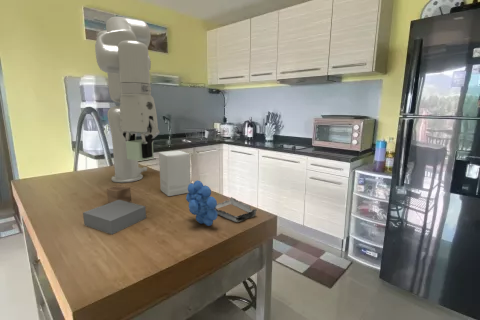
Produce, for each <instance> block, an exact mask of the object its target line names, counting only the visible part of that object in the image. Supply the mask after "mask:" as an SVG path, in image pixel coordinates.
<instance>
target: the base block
mask: <svg viewBox="0 0 480 320" xmlns="http://www.w3.org/2000/svg"><path fill="white" fill-rule="evenodd" d="M82 215H83V225H84V226H86V227H88V228H91V229H94V230H97V231H100V232H103V233H106V234H108V235H114V234H116V233H118V232H121V231H123V230H125V229H126V228H129V227H131V226H133V225H134V224H137V223H140V222H141V221H143V220H145V219H147V210H146V205H142V204H139V203H138V204H137V203H134V202H126V201H122V200H117V201H114V202H111V203H106V204H104V205H103V204H102V205H100V206H97V207H94V208H92V209H88V210H86V211H83V212H82Z"/></svg>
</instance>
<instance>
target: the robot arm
mask: <svg viewBox="0 0 480 320" xmlns="http://www.w3.org/2000/svg"><path fill="white" fill-rule="evenodd" d="M96 35H97V36H96V39H95V44H94V47H95V48H94V49H95V51H94V53H95V58H96V59H95V60H96V63H97V66H98V68H99V69H100V70H101V71H102V72H104V73H106V75H107V82H108V83H107V84H108V91H109V97H110V99H111V101H112V102H115V103H119V105H114V106H112V107H109V109H108V111H107V120H108V124H109V129H110V133H111V142H112V143H111V145H112V156H113V165H114V175H112V176H111V181H112V182H113V183H132V182H136V181H139V180H142V179H143V177H144V175H143V174H142V173H143V172H147V171H148V167H147V166H144V167H140V166H139V161H138V160H131V159H127V149H126V141H133V140H137V134H140V137H141V140H142V141H143V143H144V144H142V157H143V158H149V157H152V156H154V154H153V155H152V143H153V144H154V141H155V140H156V138H157V136H158V135H160V129H159V128H158V127H159V125H158V123H159V122H158V115H157V110H156V108H157V107H156V104H155V99H154V96H152V95H151V94H152V92H151V91H152V86H151V75H150V70H151V65H152V63H151V62H152V61H151V57H150V55H149V46H150V43H151V36H152V35H151V29H150V26H149V25H148V23H147V22H146V21H144V20H142V19H136V18H131V17H127V16H125V17H124V16H112V17H110V18H108V19H107V21H106V24H105V30H101V31H98V33H97V34H96Z"/></svg>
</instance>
